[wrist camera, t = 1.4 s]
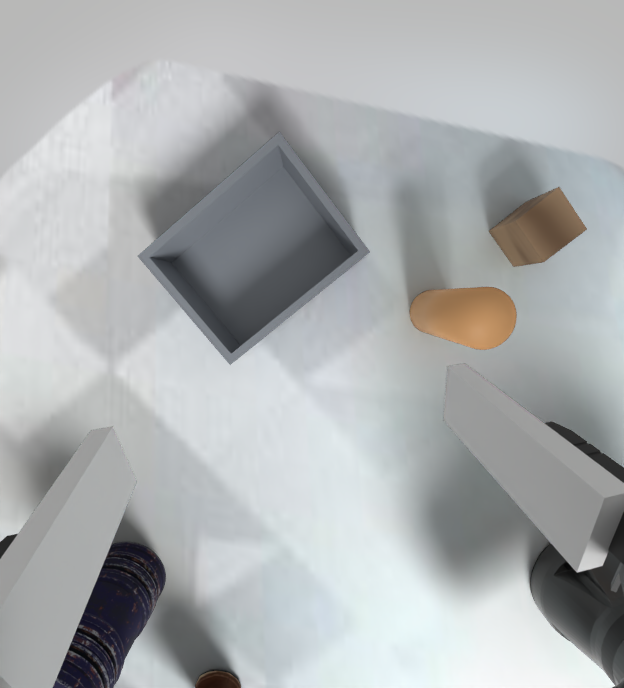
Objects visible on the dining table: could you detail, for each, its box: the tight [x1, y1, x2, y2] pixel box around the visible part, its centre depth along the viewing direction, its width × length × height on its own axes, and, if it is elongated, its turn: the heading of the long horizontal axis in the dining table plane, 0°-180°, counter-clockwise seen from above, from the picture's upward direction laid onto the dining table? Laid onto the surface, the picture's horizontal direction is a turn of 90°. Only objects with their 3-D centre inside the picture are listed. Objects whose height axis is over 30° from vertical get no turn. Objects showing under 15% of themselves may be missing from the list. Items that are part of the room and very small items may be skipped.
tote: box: [138, 132, 370, 365], centre depth 34 cm, size 18×14×6 cm
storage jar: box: [53, 542, 166, 688], centre depth 36 cm, size 10×10×15 cm
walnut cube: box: [489, 187, 587, 267], centre depth 34 cm, size 5×5×5 cm
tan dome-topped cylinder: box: [410, 287, 517, 350], centre depth 32 cm, size 5×5×12 cm
